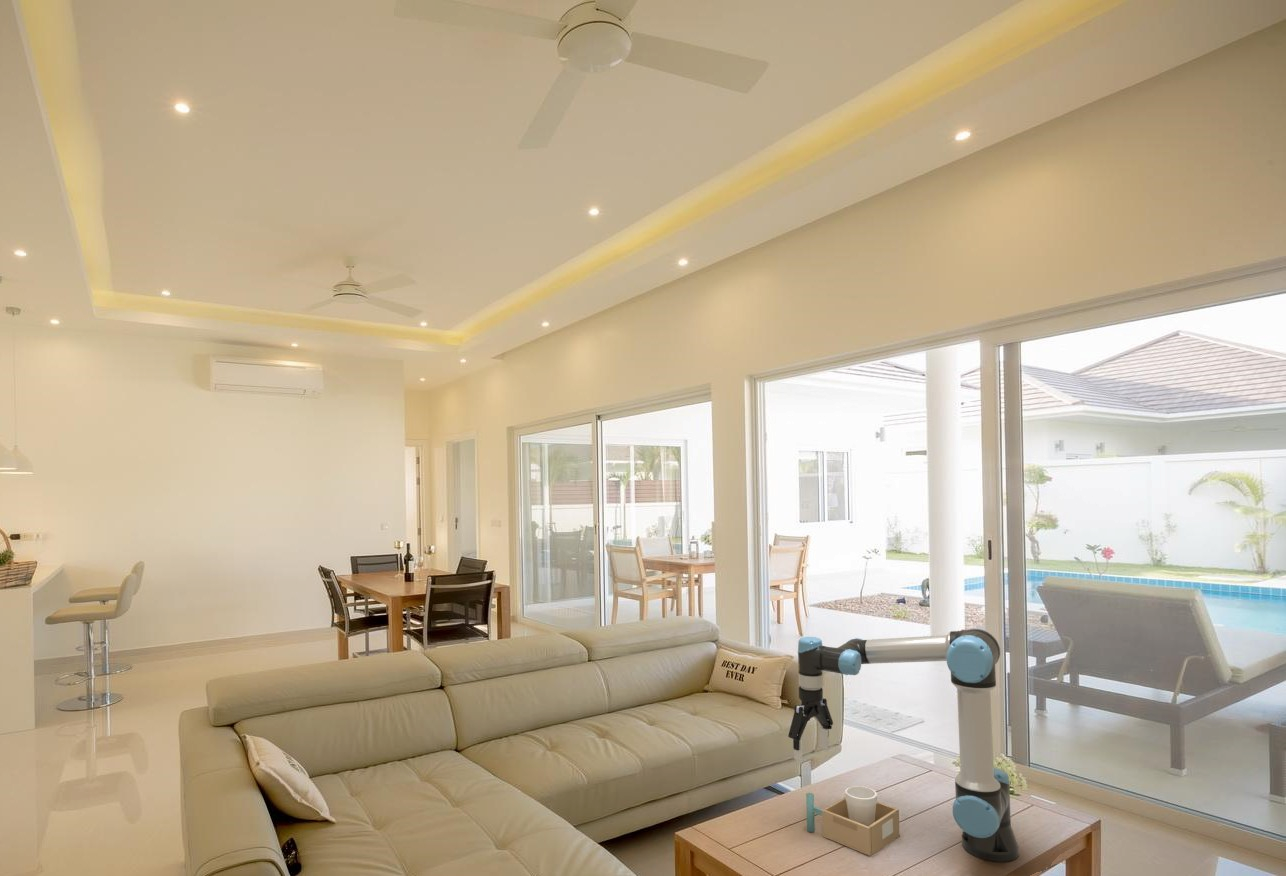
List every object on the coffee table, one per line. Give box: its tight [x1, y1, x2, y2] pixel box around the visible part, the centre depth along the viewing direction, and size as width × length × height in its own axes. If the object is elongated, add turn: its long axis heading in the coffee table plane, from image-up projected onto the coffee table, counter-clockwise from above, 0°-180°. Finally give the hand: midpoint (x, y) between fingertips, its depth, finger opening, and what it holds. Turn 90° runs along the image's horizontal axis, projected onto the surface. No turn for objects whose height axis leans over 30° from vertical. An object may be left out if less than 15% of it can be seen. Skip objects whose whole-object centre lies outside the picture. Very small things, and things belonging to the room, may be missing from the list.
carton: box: [823, 797, 901, 856], centre depth 223 cm, size 16×16×8 cm
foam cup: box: [844, 785, 878, 827], centre depth 223 cm, size 10×9×13 cm
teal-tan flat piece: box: [805, 792, 872, 857], centre depth 219 cm, size 22×2×11 cm, turn 42°
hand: (811, 754), depth 232 cm, fingers open, 13 cm apart
